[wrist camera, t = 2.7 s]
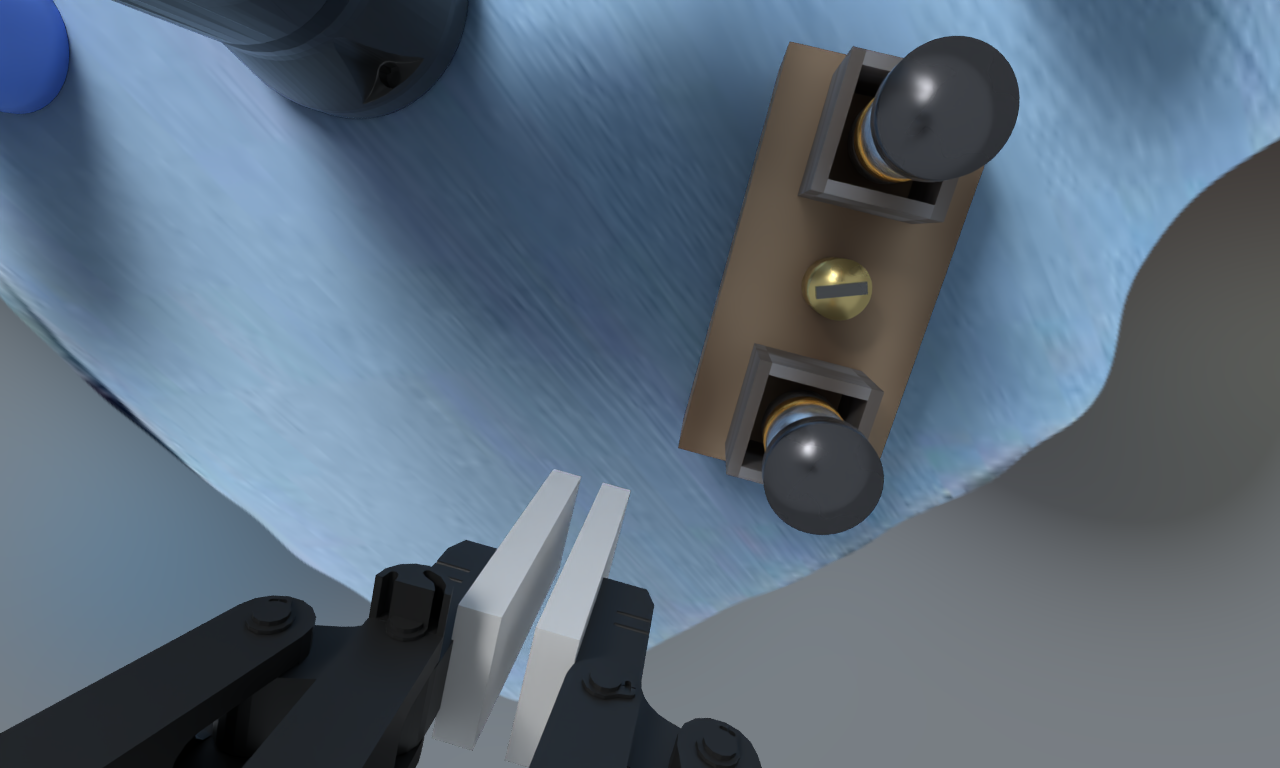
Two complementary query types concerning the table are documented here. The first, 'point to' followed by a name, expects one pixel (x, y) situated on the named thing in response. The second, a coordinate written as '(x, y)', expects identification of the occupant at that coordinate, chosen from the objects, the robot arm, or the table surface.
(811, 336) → the mount
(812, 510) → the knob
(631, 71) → the table surface
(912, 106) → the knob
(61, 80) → the water bottle
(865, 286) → the screw
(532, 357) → the table surface
